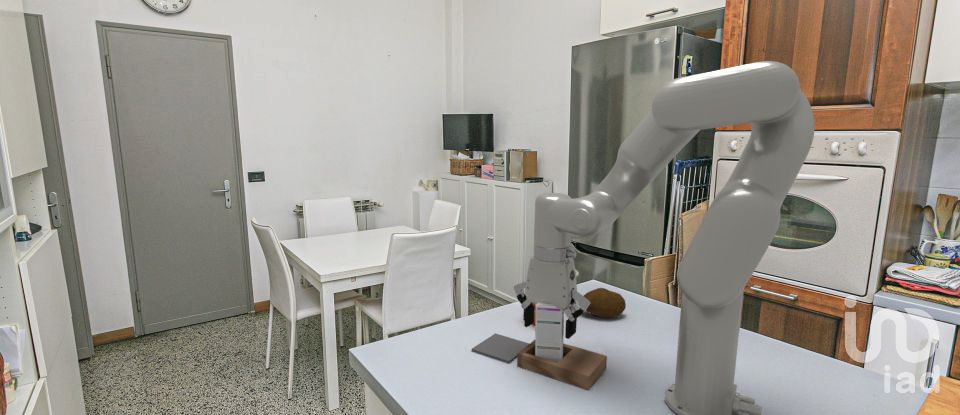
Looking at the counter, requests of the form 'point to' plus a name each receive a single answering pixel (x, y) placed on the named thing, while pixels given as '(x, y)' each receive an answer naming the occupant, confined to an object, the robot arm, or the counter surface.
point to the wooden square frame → (566, 365)
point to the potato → (605, 303)
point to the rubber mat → (500, 348)
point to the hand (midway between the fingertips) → (548, 330)
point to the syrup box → (549, 332)
